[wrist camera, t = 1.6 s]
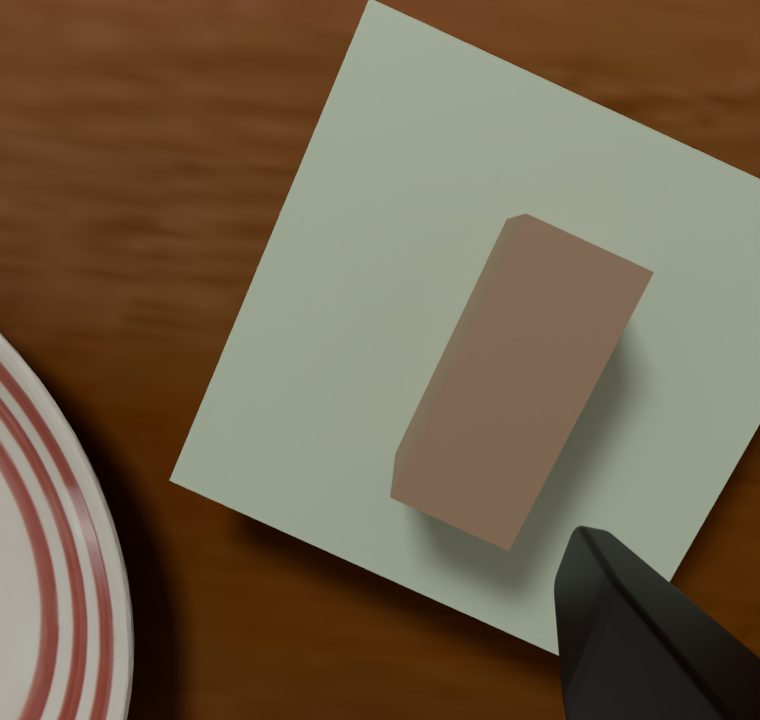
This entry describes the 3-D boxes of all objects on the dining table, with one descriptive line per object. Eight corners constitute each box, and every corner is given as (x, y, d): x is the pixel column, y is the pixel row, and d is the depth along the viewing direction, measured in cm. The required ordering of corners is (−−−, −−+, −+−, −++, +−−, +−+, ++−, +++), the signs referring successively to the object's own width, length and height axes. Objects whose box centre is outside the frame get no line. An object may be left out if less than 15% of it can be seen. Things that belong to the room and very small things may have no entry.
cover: (851, 231, 19) (976, 227, 15) (605, 664, 21) (652, 769, 17) (371, 8, 19) (357, -62, 14) (178, 471, 21) (117, 529, 17)
